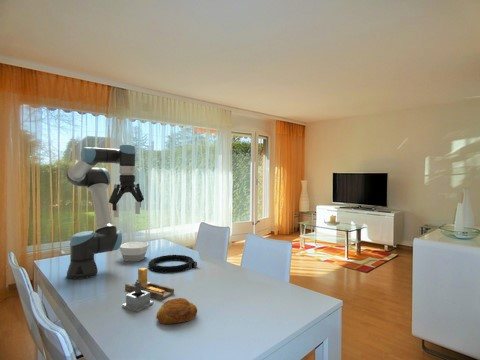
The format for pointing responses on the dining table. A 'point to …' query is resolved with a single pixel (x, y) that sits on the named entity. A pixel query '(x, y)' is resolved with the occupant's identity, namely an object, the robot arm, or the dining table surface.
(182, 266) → the cable lock
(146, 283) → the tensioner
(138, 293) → the square plate with peg
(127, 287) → the rail
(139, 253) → the bowl
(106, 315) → the dining table surface
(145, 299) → the square hollow frame
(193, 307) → the croissant
